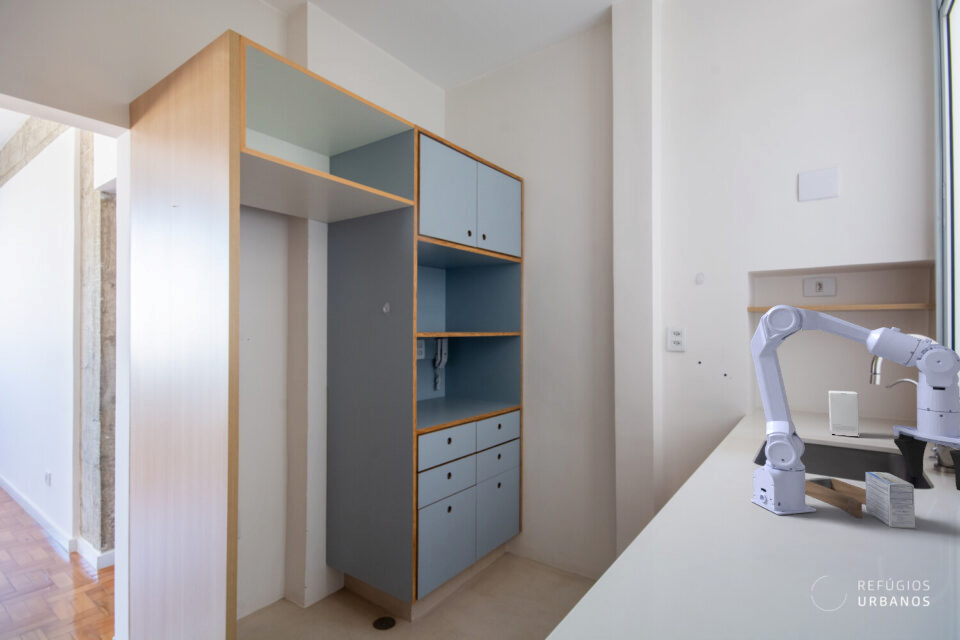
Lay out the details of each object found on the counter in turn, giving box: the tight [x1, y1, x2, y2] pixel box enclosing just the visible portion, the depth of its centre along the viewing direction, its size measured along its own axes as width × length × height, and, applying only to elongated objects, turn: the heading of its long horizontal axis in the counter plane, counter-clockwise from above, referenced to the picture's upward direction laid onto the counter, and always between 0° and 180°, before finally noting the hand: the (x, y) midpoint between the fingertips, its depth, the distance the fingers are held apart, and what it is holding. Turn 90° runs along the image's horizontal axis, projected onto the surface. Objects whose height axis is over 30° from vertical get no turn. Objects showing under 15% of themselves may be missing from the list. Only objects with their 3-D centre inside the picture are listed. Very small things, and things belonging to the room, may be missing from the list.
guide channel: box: [805, 476, 866, 519], centre depth 105 cm, size 11×15×3 cm
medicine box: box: [865, 471, 916, 529], centre depth 95 cm, size 8×4×9 cm, turn 168°
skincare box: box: [827, 390, 860, 434], centre depth 168 cm, size 8×7×16 cm
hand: (938, 482), depth 87 cm, fingers open, 7 cm apart
